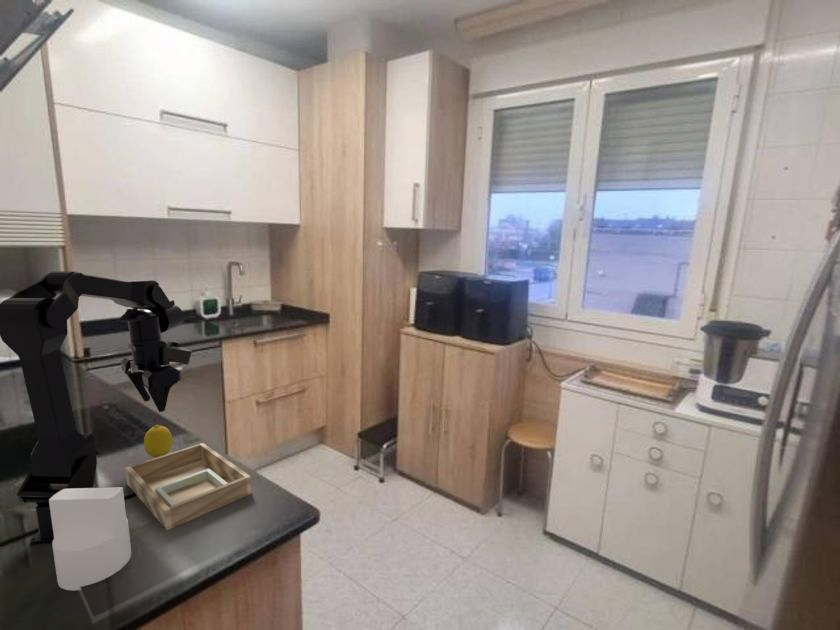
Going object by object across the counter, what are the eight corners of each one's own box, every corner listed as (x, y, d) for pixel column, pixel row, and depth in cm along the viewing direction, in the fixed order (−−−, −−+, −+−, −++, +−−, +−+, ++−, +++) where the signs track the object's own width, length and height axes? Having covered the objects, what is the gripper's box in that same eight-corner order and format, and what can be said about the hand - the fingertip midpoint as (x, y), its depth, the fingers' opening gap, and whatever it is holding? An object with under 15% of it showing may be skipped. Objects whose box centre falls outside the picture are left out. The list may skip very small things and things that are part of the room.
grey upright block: (144, 546, 71) (136, 476, 69) (107, 589, 62) (97, 510, 60) (86, 548, 70) (77, 478, 68) (40, 591, 61) (29, 512, 60)
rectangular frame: (231, 492, 85) (231, 485, 85) (175, 516, 78) (174, 508, 77) (209, 475, 92) (208, 468, 92) (155, 495, 84) (154, 487, 84)
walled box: (251, 495, 85) (250, 476, 84) (167, 532, 74) (165, 511, 73) (204, 459, 100) (202, 442, 99) (127, 486, 89) (125, 467, 88)
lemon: (161, 465, 97) (157, 431, 96) (139, 463, 98) (136, 429, 97) (179, 454, 102) (176, 421, 101) (158, 451, 103) (155, 419, 102)
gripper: (202, 337, 95) (209, 406, 98) (169, 326, 107) (176, 387, 110) (144, 348, 87) (154, 422, 90) (116, 334, 99) (125, 399, 102)
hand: (154, 406), depth 98 cm, fingers open, 9 cm apart
